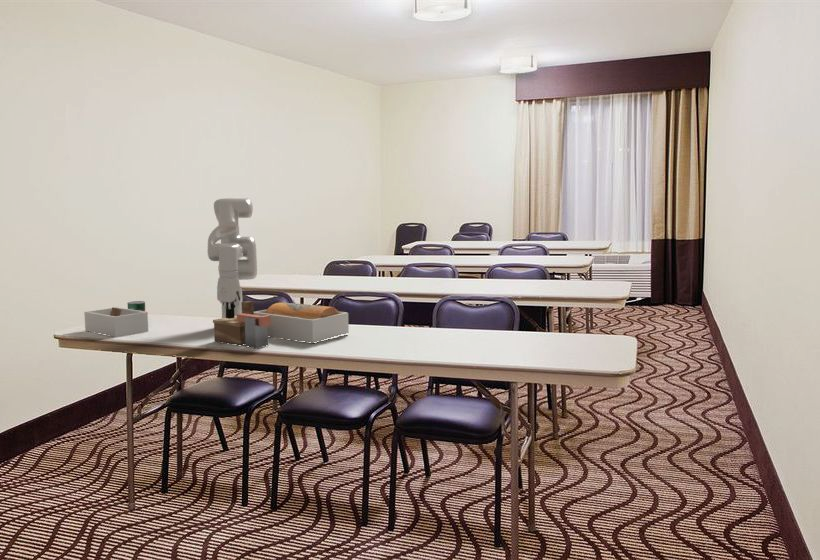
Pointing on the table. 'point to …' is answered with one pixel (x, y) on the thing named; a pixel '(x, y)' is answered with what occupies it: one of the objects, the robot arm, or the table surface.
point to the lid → (246, 309)
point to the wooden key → (262, 320)
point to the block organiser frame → (116, 322)
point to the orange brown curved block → (301, 310)
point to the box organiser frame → (306, 327)
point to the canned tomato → (136, 305)
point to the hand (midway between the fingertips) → (230, 317)
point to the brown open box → (229, 334)
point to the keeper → (255, 333)
